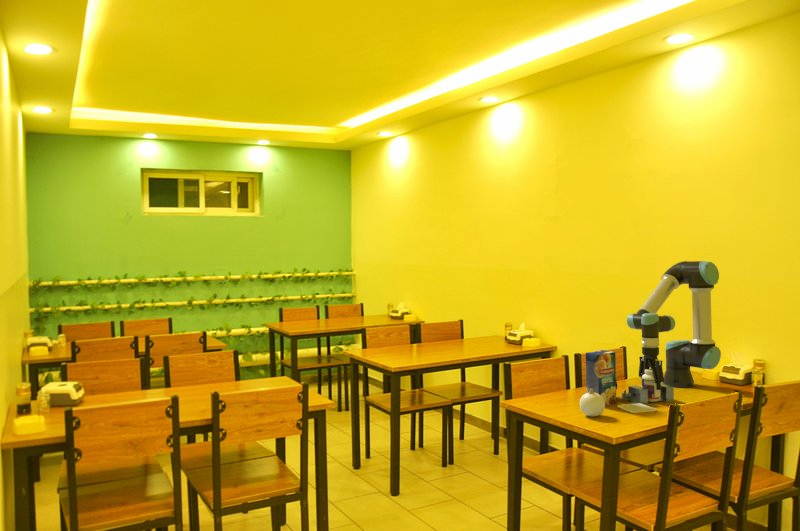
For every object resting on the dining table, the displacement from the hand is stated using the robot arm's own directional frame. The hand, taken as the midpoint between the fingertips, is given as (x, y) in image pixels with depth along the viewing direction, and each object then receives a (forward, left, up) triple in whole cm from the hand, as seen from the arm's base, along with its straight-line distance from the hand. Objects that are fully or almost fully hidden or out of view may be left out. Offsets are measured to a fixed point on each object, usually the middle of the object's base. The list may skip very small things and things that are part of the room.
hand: (651, 394), depth 302 cm
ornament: (+40, +14, -3) cm, 43 cm away
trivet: (+15, +10, -3) cm, 19 cm away
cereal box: (+24, -4, -3) cm, 25 cm away
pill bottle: (0, 0, -3) cm, 3 cm away
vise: (+3, -3, -3) cm, 5 cm away
